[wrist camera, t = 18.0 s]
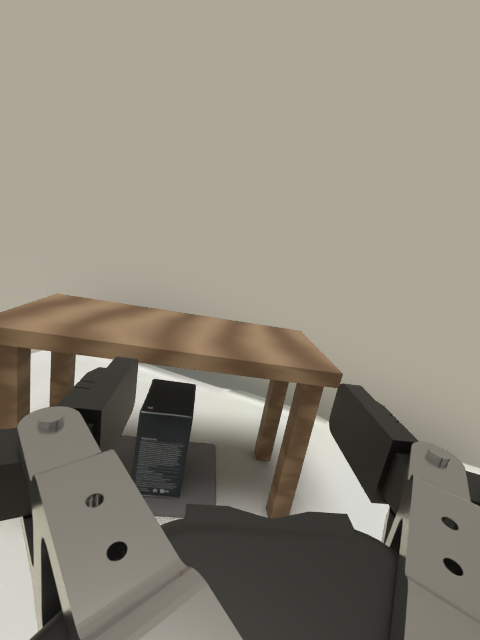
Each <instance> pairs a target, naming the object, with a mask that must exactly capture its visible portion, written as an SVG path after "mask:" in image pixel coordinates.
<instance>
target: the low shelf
mask: <svg viewBox="0 0 480 640" xmlns="http://www.w3.org/2000/svg"><path fill="white" fill-rule="evenodd" d="M31 349H38V350H46V351H51V378H50V407H55V406H56V405H57V404H58V403H59V402H60V401H61V400H62V399H63V398H64V397H65V396H66V395H67V394H68V393H69V392H70V390H71V389H72V388H74V376H75V357H76V354H77V355H85V356H92V357H100V358H108V359H115V357H116V356H119V357H127V358H136V359H138V362H139V363H147V364H154V365H163V366H170V367H177V368H185V369H193V370H201V371H209V372H216V373H224V374H233V375H240V376H247V377H256V378H263V379H270V383H269V388H268V392H267V397H266V401H265V406H264V410H263V415H262V419H261V424H260V428H259V433H258V437H257V442H256V446H255V455H256V460H266V461H270V459H271V454H272V450H273V446H274V442H275V438H276V434H277V429H278V425H279V421H280V417H281V413H282V408H283V404H284V400H285V396H286V392H287V388H288V383H289V382H294V383H297V384H296V388H295V392H294V397H293V401H292V405H291V409H290V413H289V417H288V421H287V425H286V429H285V433H284V437H283V441H282V445H281V449H280V453H279V457H278V461H277V466H276V470H275V474H274V478H273V482H272V486H271V490H270V494H269V498H268V502H267V506H266V509H267V514H268V518H270V519H274V518H280V517H285V516H289V513H290V510H291V506H292V502H293V499H294V495H295V491H296V488H297V484H298V480H299V476H300V473H301V469H302V465H303V462H304V458H305V454H306V451H307V447H308V443H309V439H310V436H311V432H312V428H313V425H314V421H315V417H316V414H317V410H318V406H319V403H320V399H321V395H322V391H323V388H324V386H326V387H333V388H338V387H339V385H340V382H341V378H342V375H343V374H342V373H341V372H340V371H339V370H338V369H337V368H336V367H335V366H334V365H333V364H332V362H331V361H330V360H329V359H327V357H326V356H325V355H324V354H323V353H322V352H320V350H319V349H318V348H317V347H316V346H315V345H314V344H313V343H312V342H311V341H310V340H309V339H308V338H307V337H306V336H305V335H304V334H303V333H302V332H301V331H298V330H291V329H285V328H278V327H271V326H265V325H259V324H252V323H245V322H239V321H232V320H226V319H219V318H212V317H206V316H200V315H193V314H186V313H180V312H173V311H167V310H160V309H154V308H148V307H141V306H134V305H128V304H121V303H115V302H108V301H102V300H95V299H88V298H82V297H76V296H69V295H62V294H54V295H52V296H48V297H46V298H42V299H39V300H36V301H33V302H30V303H27V304H24V305H21V306H18V307H15V308H12V309H9V310H7V311H3V312H0V430H1V429H10V428H16V427H18V424H19V422H20V421H21V420H22V419H23V418H24V417H25V416H27V415H28V414H30V357H31Z"/></svg>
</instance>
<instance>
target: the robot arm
mask: <svg viewBox="0 0 480 640" xmlns="http://www.w3.org/2000/svg"><path fill="white" fill-rule="evenodd" d="M137 372H138V359H136V358H127V357H119V356H116V357H115V359H114V360H113V361H112V362H111V363H110V365H109V366H108V367H107V368H101V367H99V368H97V369H94V370H92V371H90V372H88V373H87V374H86V375H85V376H84V377H83V378H82V379H81V380H80V382H78V383H77V384H76V385H75V386H74V388H72V389H71V390H70V392H69V393H68V394H67V395H66V396H65V397H64V398H63V399H62V400H61V401H60V402H59V403H58V404H57V405H56V406H55V407H48V408H43V409H40V410H37V411H34V412H32V413H30V414H28V415H27V416H25V417H24V418H23V419H22V420H21V421H20V422H19V424H18V427H16V428H10V429H1V430H0V521H3V520H8V519H12V518H17V517H20V518H21V524H22V530H23V535H24V540H25V546H26V551H27V556H28V562H29V567H30V572H31V577H32V583H33V591H34V601H35V611H36V619H37V626H38V632H37V633H36V634H35V635H34V636H33V637H32V638H31V639H30V640H480V475H478V474H475V473H471V472H468V471H465V467H464V465H463V464H462V462H461V461H460V460H459V459H457V458H456V457H455V456H454V455H453V454H451V453H450V452H448V451H446V450H444V449H443V448H441V447H438V446H436V445H433V444H430V443H426V442H419V441H418V440H417V439H416V438H415V437H414V436H413V435H412V434H411V433H410V432H409V431H408V430H407V429H406V428H405V427H404V426H403V425H402V424H401V423H399V421H398V420H397V419H396V418H395V417H394V416H392V414H391V413H390V412H389V411H388V410H387V409H386V408H385V407H384V406H383V405H381V404H380V403H378V402H377V401H375V400H374V399H373V398H372V397H371V396H370V395H369V394H368V393H367V392H366V391H365V390H364V388H363V387H361V386H359V385H351V384H340V385H339V387H338V390H337V393H336V397H335V400H334V404H333V408H332V411H331V415H330V420H329V427H330V432H331V434H332V436H333V437H334V439H335V441H336V443H337V444H338V446H339V448H340V450H341V451H342V453H343V455H344V456H345V458H346V460H347V462H348V463H349V465H350V467H351V468H352V470H353V472H354V474H355V475H356V477H357V479H358V481H359V482H360V484H361V486H362V487H363V489H364V491H365V493H366V494H367V496H368V498H369V500H370V501H371V503H381V504H389V506H390V507H389V509H388V512H387V515H386V519H385V524H384V530H383V535H382V540H381V541H379V540H377V539H375V538H373V537H371V536H369V535H367V534H365V533H362V532H360V531H357V530H354V528H353V526H352V524H351V521H350V519H349V517H348V515H347V514H338V513H323V512H305V513H300V514H295V515H290V516H285V517H280V518H274V519H270V518H265V517H262V516H259V515H255V514H252V513H249V512H245V511H242V510H239V509H235V508H232V507H229V506H216V505H201V504H186V509H185V516H184V519H179V520H175V521H171V522H168V523H165V524H163V525H161V526H160V525H159V523H158V522H157V520H156V518H155V517H154V515H153V513H152V512H151V510H150V508H149V507H148V505H147V503H146V502H145V500H144V498H143V497H142V495H141V493H140V492H139V490H138V488H137V487H136V485H135V483H134V482H133V480H132V479H131V477H130V475H129V474H128V472H127V470H126V469H125V467H124V465H123V464H122V462H121V460H120V459H119V457H118V455H117V454H116V452H115V451H114V448H115V446H116V444H117V442H118V440H119V438H120V436H121V434H122V432H123V430H124V428H125V426H126V424H127V422H128V419H129V417H130V415H131V413H132V410H133V407H134V403H135V396H136V384H137Z"/></svg>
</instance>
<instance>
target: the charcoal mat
mask: <svg viewBox="0 0 480 640" xmlns="http://www.w3.org/2000/svg"><path fill="white" fill-rule="evenodd" d="M136 438H137V437H132V436H122V435H121V436H120V438H119V440H118V442H117V444H116V446H115V448H114V451H115V452H116V454H117V455H118V457H119V459H120V460H121V462H122V464H123V465H124V467H125V469H126V470H127V472H128V474H129V475H130V477H131V476H132V469H133V462H134V453H135V445H136ZM142 497H143V498H144V500H145V502H146V503H147V505H148V507H149V508H150V510H151V512H152V513H153V515H154V516H167V517H183V518H184V516H185V509H186V504H201V505H216V470H215V445H214V444H204V443H194V442H189V444H188V450H187V456H186V462H185V467H184V473H183V479H182V485H181V491H180V496H179V497H178V498H166V497H154V496H142Z"/></svg>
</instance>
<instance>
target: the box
mask: <svg viewBox="0 0 480 640" xmlns="http://www.w3.org/2000/svg"><path fill="white" fill-rule="evenodd" d="M195 391H196V385H195V384H188V383H181V382H174V381H166V380H159V379H154V380H152V384H151V387H150V389H149V392H148V394H147V397H146V399H145V402H144V404H143V406H142V408H141V410H140V415H139V422H138V430H137V438H136V445H135V453H134V462H133V469H132V476H131V479H132V480H133V482H134V483H135V485H136V487H137V488H138V490H139V492H140V493H141V495H142V496H154V497H166V498H178V497H179V496H180V491H181V485H182V479H183V473H184V467H185V462H186V456H187V450H188V444H189V438H190V432H191V426H192V420H193V411H194V402H195Z"/></svg>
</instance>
